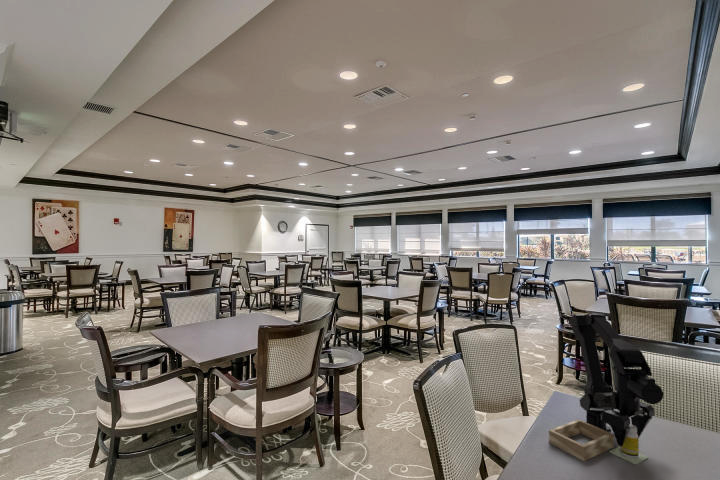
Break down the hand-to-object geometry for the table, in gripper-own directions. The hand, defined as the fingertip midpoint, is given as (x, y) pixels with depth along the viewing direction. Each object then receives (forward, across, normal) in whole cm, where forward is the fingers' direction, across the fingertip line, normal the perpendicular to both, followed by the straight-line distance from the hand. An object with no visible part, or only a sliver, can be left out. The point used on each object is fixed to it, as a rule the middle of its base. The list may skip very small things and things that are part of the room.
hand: (628, 441), depth 108 cm
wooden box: (+4, +7, -10) cm, 13 cm away
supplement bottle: (+4, 0, 0) cm, 4 cm away
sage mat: (+4, 0, 0) cm, 4 cm away
